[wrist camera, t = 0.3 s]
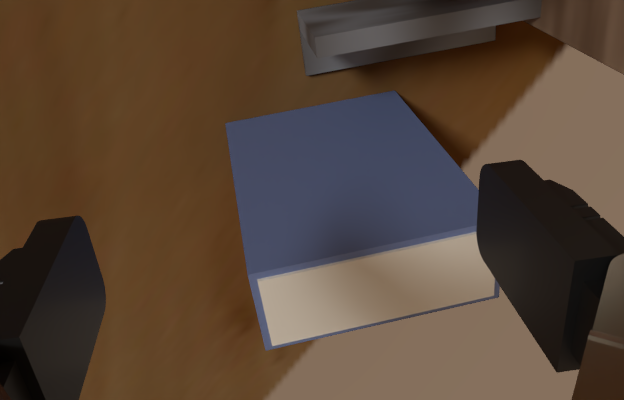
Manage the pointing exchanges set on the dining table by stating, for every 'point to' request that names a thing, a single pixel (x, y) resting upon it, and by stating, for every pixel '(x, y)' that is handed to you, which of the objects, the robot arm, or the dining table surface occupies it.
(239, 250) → the dining table surface
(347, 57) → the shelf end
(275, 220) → the boxed book
